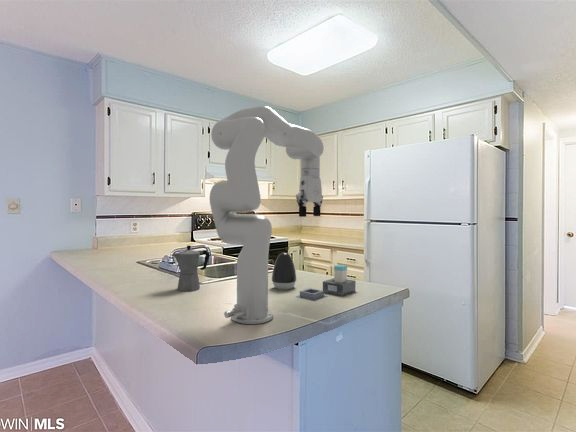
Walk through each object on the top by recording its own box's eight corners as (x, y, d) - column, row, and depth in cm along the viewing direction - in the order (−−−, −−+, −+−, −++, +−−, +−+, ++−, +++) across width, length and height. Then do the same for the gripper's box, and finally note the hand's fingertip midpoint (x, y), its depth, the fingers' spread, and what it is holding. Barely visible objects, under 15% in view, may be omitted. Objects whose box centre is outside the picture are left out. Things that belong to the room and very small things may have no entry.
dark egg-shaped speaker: (298, 286, 142) (299, 251, 142) (292, 292, 132) (293, 254, 132) (276, 285, 145) (276, 250, 145) (268, 290, 135) (268, 253, 135)
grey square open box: (314, 302, 118) (314, 295, 118) (295, 298, 124) (295, 291, 124) (328, 297, 125) (328, 290, 125) (309, 293, 131) (309, 287, 131)
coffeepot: (174, 293, 130) (174, 247, 129) (169, 288, 138) (169, 245, 137) (213, 288, 138) (213, 245, 137) (206, 284, 146) (206, 243, 145)
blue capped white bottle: (342, 292, 129) (342, 266, 129) (333, 291, 132) (334, 265, 131) (346, 290, 132) (347, 265, 132) (338, 289, 134) (339, 264, 134)
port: (342, 297, 125) (342, 285, 125) (322, 293, 131) (322, 281, 131) (355, 292, 133) (355, 280, 133) (335, 288, 139) (336, 277, 139)
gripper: (304, 171, 125) (304, 217, 126) (329, 175, 138) (329, 216, 139) (289, 172, 130) (289, 216, 130) (314, 176, 143) (314, 215, 144)
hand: (309, 216), depth 135 cm, fingers open, 9 cm apart
